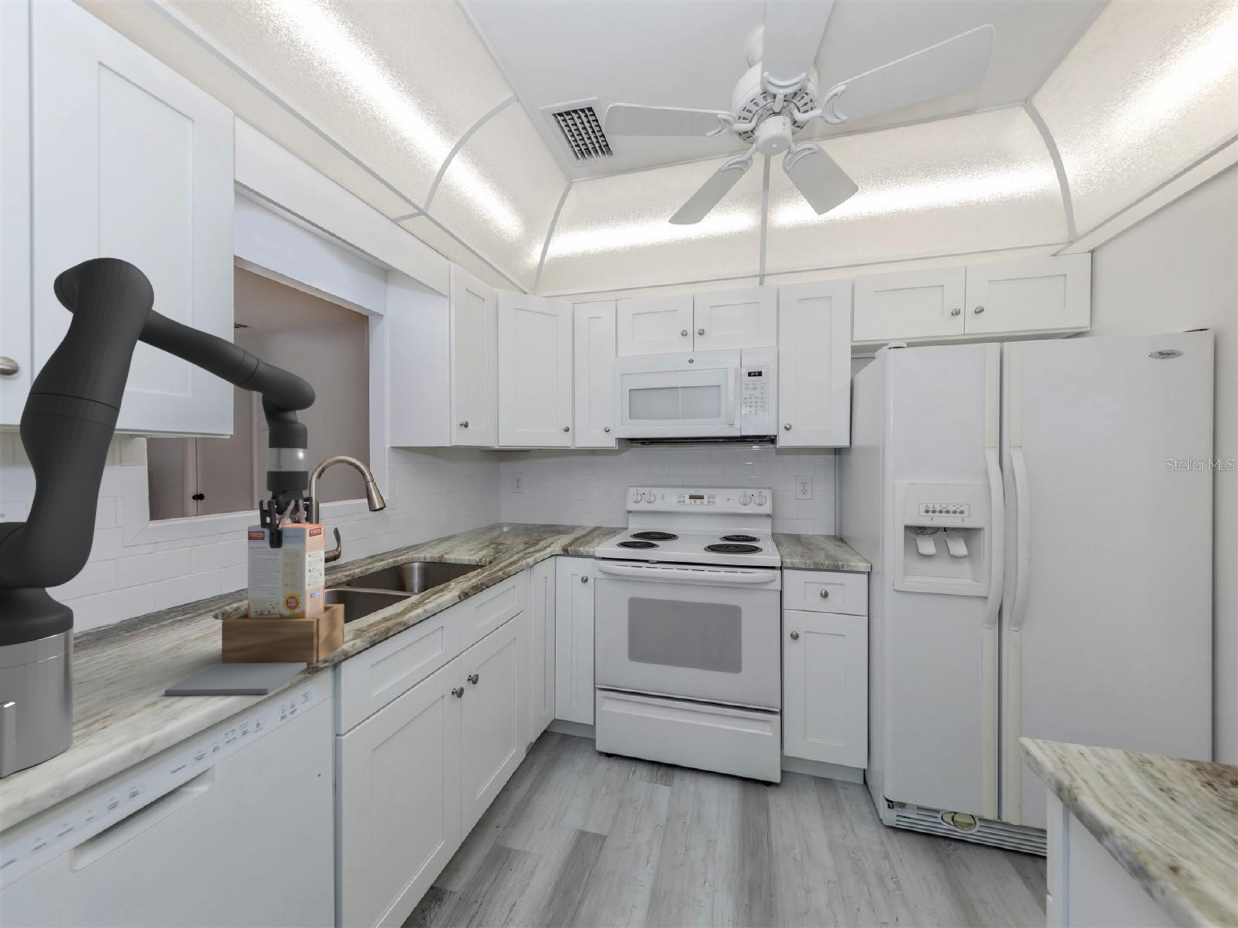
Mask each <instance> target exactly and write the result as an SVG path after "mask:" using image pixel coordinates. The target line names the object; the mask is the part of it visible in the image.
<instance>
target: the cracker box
mask: <svg viewBox="0 0 1238 928" xmlns="http://www.w3.org/2000/svg"><path fill="white" fill-rule="evenodd" d="M277 524H278V522H277ZM282 530H283V536H282V547H281V548H270V545H269V530H267V529H265V528H261V523H260V524H255V525H254V524H253V525H249V526H247V610H248V618H314V617H316V616H317V615H319V614H321V613H323V612H324V604H325V533H326V532H325V524H324V523H306V524H296V523H290V522H289V523H288V522H287V523H286V522H284V525H283V528H282Z"/></svg>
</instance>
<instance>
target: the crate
mask: <svg viewBox="0 0 1238 928" xmlns="http://www.w3.org/2000/svg"><path fill="white" fill-rule="evenodd" d="M344 643H345V604H344V603H324V612H323V613H321V614H319V615H317V616H316V617H314V618H248V609H247V610H244V611H241V612H238V613H237V614H235V615H231V616H229V617H226V618H224V620H222V621H221V663H307V665H309V664H310V665H311V664H312V665H313V664H315V663H316V662H321V660H323V659H324V658H326V657H327V656H329V655H330V654H332V653H333V652H335V651H336V650H338V649H339V648H340V647H342V646H343V645H344Z"/></svg>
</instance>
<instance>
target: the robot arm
mask: <svg viewBox="0 0 1238 928" xmlns="http://www.w3.org/2000/svg"><path fill="white" fill-rule="evenodd" d="M53 291H54V293H53V294H54V295H55V297H56V299H57V301H58V302H59V303H60V305H61V306H63V307H64V308H65V309H66V310H67V311H68V312H70V313H71V314H72V318H71V322H70V325H69V327H68V330H67V332H66V334H65V336H64V337H63V339H62V340H61V342H60V343H59V345H58V346H57V347H56V349H55V350H54V352H53V353H52V354H51V355H50V356H49V358H48V360H46V363H44V365H43V366H42V368H41V370H40V371H39V373H38V374H37V375H36V378H35V380H34V381H33V383H32V385H31V386H30V389H29V392H28V395H27V398H26V401H25V405H24V407H23V410H22V414H21V418H20V421H19V436H20V441H21V442H22V445H23V449H24V451H25V453H26V457H27V459H28V461H29V463H30V465H31V468H32V470H33V473H34V477H35V490H34V491H35V492H34V496H33V499H32V503H31V507H30V511H29V513H28V516H27V519H26V521H3V522H0V778H5V777H7V776H9V775H11V774H13V773H16V772H18V771H21V770H24V769H26V768H27V769H28V768H30V767H32V766H33V767H34V766H35V765H37V764H40V763H43V762H46V761H48V760H49V759H52V758H54V757H56V756H58V755H59V754H61V753H63V752H65V751H66V750H67V749H69V747H71V745H72V744H73V737H74V736H73V735H74V733H73V732H74V635H75V634H74V632H75V631H74V618H75V617H74V612H73V609H72V608H71V607H69V606H68V605H65V604H63V603H61V602H59V601H57V600H55V598H53V597H52V596H51V595H50V594H49V593H48V592H47V589H49V588H55V587H58V586H59V587H60V586H62V585H65V584H66V583H68V582H70V581H71V580H74V578H76V577H77V576H78V575H79V574H80V573H81V572H82V570H83V569H84V568H85V566H86V564H87V563H88V560H89V558H90V555H91V551H92V547H93V542H94V534H95V529H96V519H97V508H98V499H99V495H100V494H99V493H100V489H101V484H102V479H103V474H104V471H105V465H106V461H107V458H108V453H109V449H110V445H111V442H112V439H113V437H114V434H115V430H116V428H117V427H116V426H117V423H118V419H119V416H120V412H121V408H122V407H121V406H122V402H123V397H124V394H125V390H126V386H127V382H128V378H129V377H128V376H129V373H130V369H131V363H132V359H133V354H134V352H135V349H136V345H137V343H138V341H139V342H142V343H145V344H146V345H149V346H152V347H154V348H157V349H159V350H161V351H164V352H167V353H169V354H171V355H173V356H175V357H178V358H180V359H182V360H184V361H186V362H189V363H190V364H193V365H195V366H197V367H198V368H201V369H203V370H204V371H207V372H209V373H211V374H212V375H214V376H217V377H218V378H220V379H223V380H224V381H226V382H227V383H228V382H229V383H230V384H232V385H234V386H236V387H238V388H239V389H243V390H245V391H250V392H256V393H260V394H261V405H262V409H263V413H264V416H265V417H264V418H265V420H266V424H267V426H268V449H267V456H266V457H267V458H266V490H267V492H271V497H270V499H260V500H259V501H258V505H259V507H258V508H259V520H260V524H261V528H265V529H267V530H269V545H270V548H281V547H282V536H283V530H282V528H283V525H284V523H286V521H288V520H289V521H290V522H291V523H296V524H308V523H310V522H311V521H312V513H313V512H312V511H313V502H314V501H313V500H314V499H313V496H306V495H305V496H304V493H303V492H304V491H306V492H307V491H308V490H309V473H310V472H309V470H310V468H309V464H310V463H309V462H310V461H309V452H308V435H309V434H308V427H307V426H306V425H305V423H303V422H299V420H298V415H297V411H303V410H306V409H308V408H310V407H312V405H313V404H314V403H315V401H316V393H315V389H314V388H313V387H312V385H311V384H310V383H309V382H308V381H307V380H306V379H304V378H302V377H301V376H298V375H297V374H294V373H292V372H290V371H287V370H285V369H283V368H280V367H278V366H275V365H272V364H270V363H267V362H266V361H263V360H262V359H260V358H259V357H257V356H256V355H254V354H253V353H251V352H249V351H247V350H245V349H243V348H242V347H240V346H238V345H237V344H235V343H232V342H230V341H229V340H227V339H224V338H221V337H220V336H218V335H217V336H216V335H213V334H211V333H208V332H205V331H202V330H200V329H197V328H193V327H191V326H188V325H186V324H183V323H180V322H179V321H176V320H173V319H172V318H169V317H167V316H165V315H163V314H161V313H159V312H157V310H154V309H153V307H154V303H155V292H154V288H153V285H152V284H151V281H150V280H149V278H148V276H147V275H145V273H144V272H143V271H142V270H141V269H139V268H138V267H137V266H136V265H135V264H133V263H131V262H129V261H126V260H124V259H120V258H115V257H97V258H91V259H88V260H84V261H82V262H81V263H78V264H76V265H74V266H72V267H70V268H68V269H65V270H64V271H62V272H61V273H60V274H58V276H56V278H55V279H54V282H53ZM267 519H269V520H267ZM277 521H278V522H277ZM277 523H278V524H277Z"/></svg>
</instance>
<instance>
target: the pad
mask: <svg viewBox="0 0 1238 928" xmlns="http://www.w3.org/2000/svg"><path fill="white" fill-rule="evenodd" d="M307 665H308V664H307V663H222V662H221V663H214V664H212V665H210V666H209V667H207V668H204V669H203V670H200V671H198V672H197V673H195V674H193V675H190V676H189V677H187V678H185V679H183V680H181V681H180V682H177V683H175V684H173V685H171V686H170V687H168V688H165V689H164V696H213V695H214V696H216V695H219V696H221V695H222V696H225V695H226V696H228V695H235V696H236V695H269V694H271V693H272V692H273V691H274V690H276V689H278V688H279V687H280V686H283V684H285V683H286V682H288V681H289V680H291V679H292V678H293V677H295V676H296V675H297V674H300V673H301V672H302V671H304V670H306V668H307Z"/></svg>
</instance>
